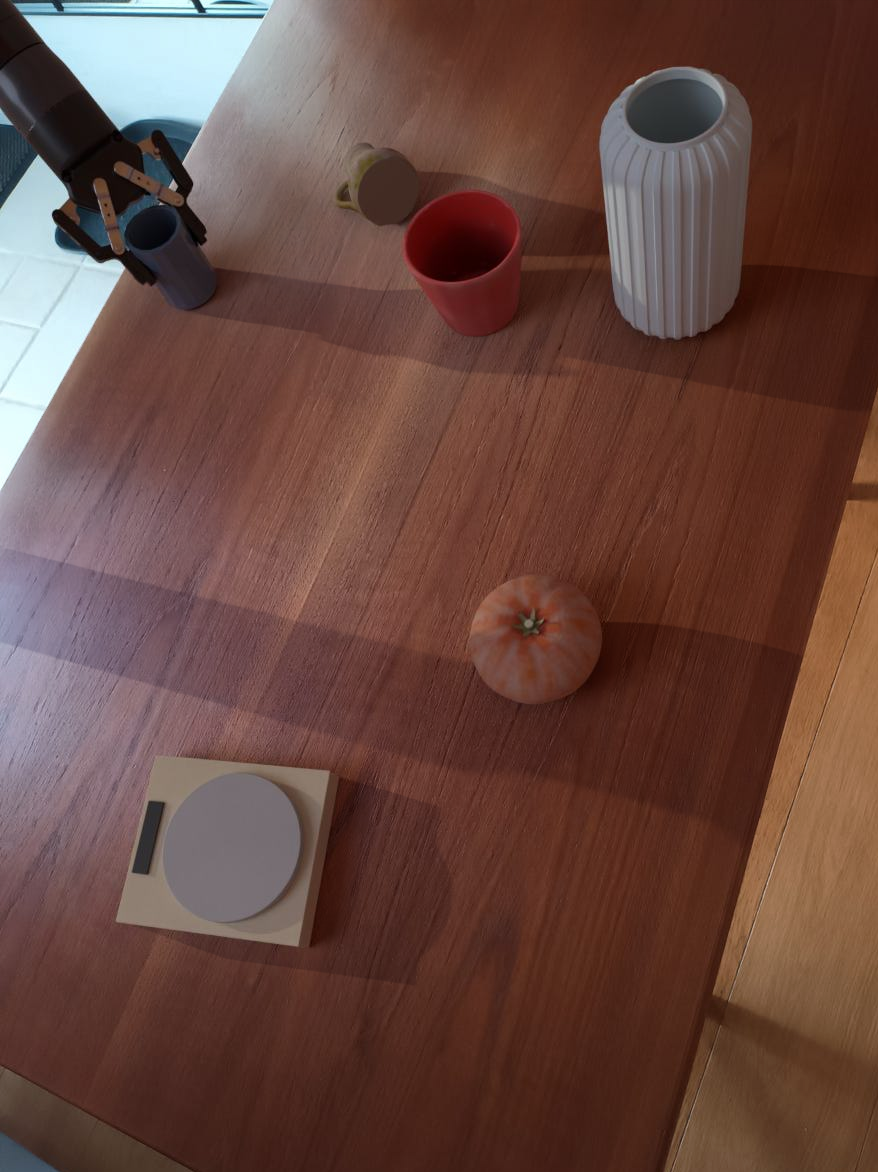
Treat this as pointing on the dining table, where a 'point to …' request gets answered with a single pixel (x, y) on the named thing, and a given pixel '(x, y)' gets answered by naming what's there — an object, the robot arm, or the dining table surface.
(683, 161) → the vase
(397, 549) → the dining table surface
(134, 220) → the ceramic cup
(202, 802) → the scale
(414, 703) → the dining table surface
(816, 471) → the dining table surface
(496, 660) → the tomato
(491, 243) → the flower pot
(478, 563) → the dining table surface
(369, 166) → the mug
